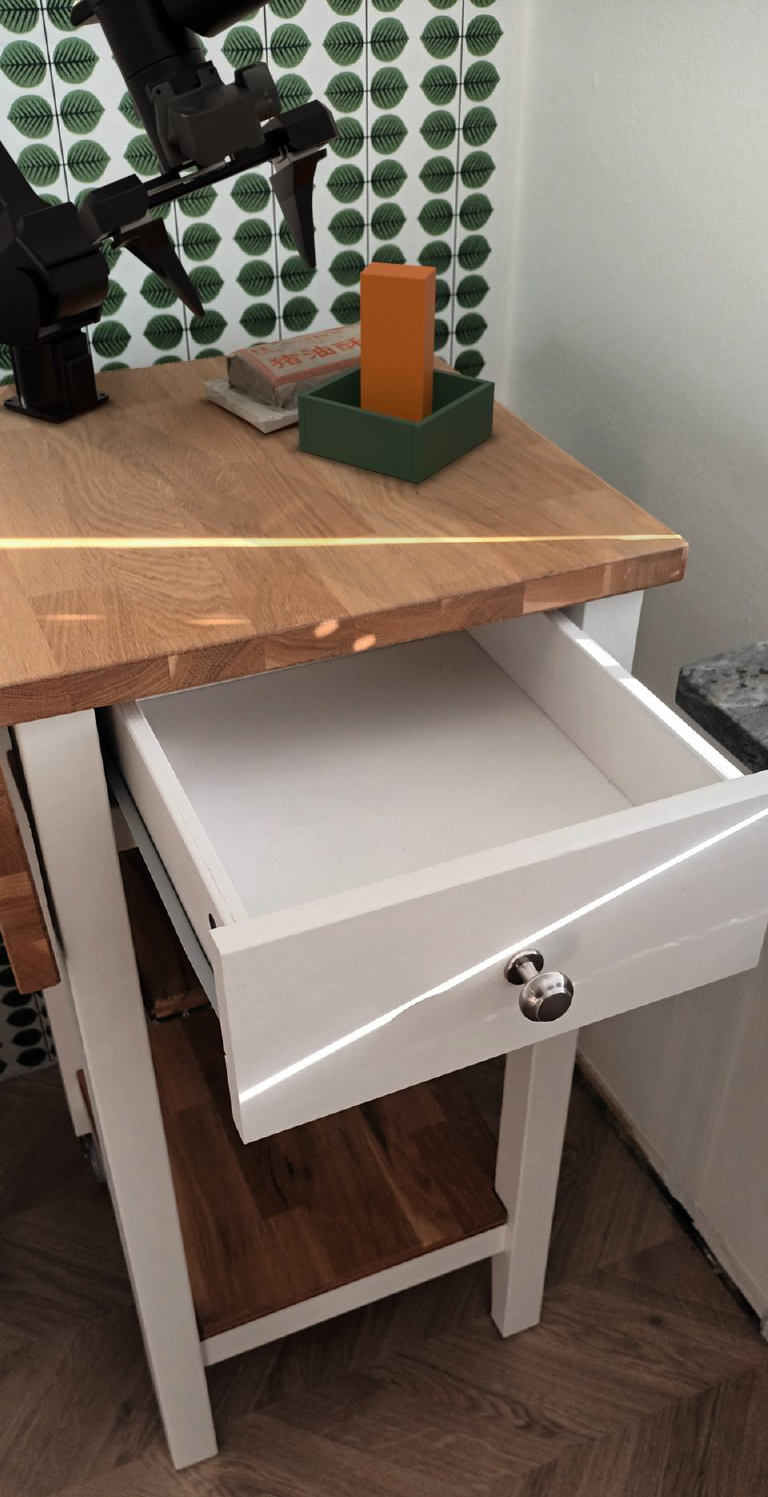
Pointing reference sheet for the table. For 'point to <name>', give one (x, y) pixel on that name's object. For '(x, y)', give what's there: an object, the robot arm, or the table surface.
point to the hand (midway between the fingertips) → (258, 293)
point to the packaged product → (283, 374)
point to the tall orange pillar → (397, 339)
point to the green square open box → (396, 425)
